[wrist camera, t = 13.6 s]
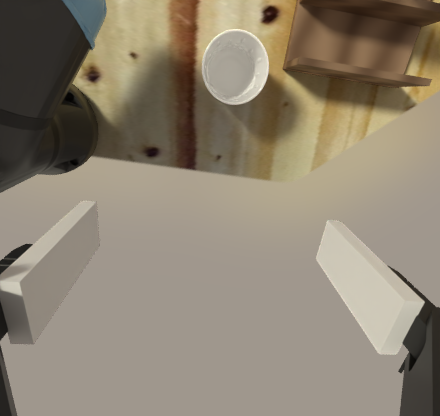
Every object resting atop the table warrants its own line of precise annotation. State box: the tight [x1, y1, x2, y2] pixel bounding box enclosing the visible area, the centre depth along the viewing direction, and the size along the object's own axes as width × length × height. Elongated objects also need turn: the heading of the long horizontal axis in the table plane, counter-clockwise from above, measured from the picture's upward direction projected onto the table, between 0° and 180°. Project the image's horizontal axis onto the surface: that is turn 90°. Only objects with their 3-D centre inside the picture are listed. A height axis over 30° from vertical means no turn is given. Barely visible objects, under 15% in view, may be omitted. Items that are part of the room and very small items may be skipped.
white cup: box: [202, 29, 269, 105], centre depth 36 cm, size 8×8×10 cm
